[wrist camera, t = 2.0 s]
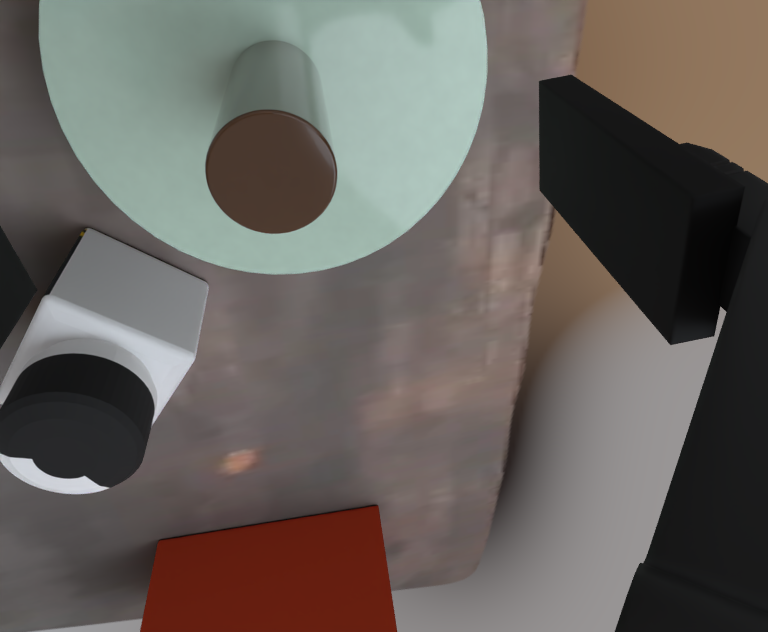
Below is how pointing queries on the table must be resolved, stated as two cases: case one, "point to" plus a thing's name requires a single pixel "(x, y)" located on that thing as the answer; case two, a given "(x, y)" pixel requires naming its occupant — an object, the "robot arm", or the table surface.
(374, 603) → the file binder
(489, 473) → the table surface
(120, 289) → the medicine bottle
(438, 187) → the basin lid
